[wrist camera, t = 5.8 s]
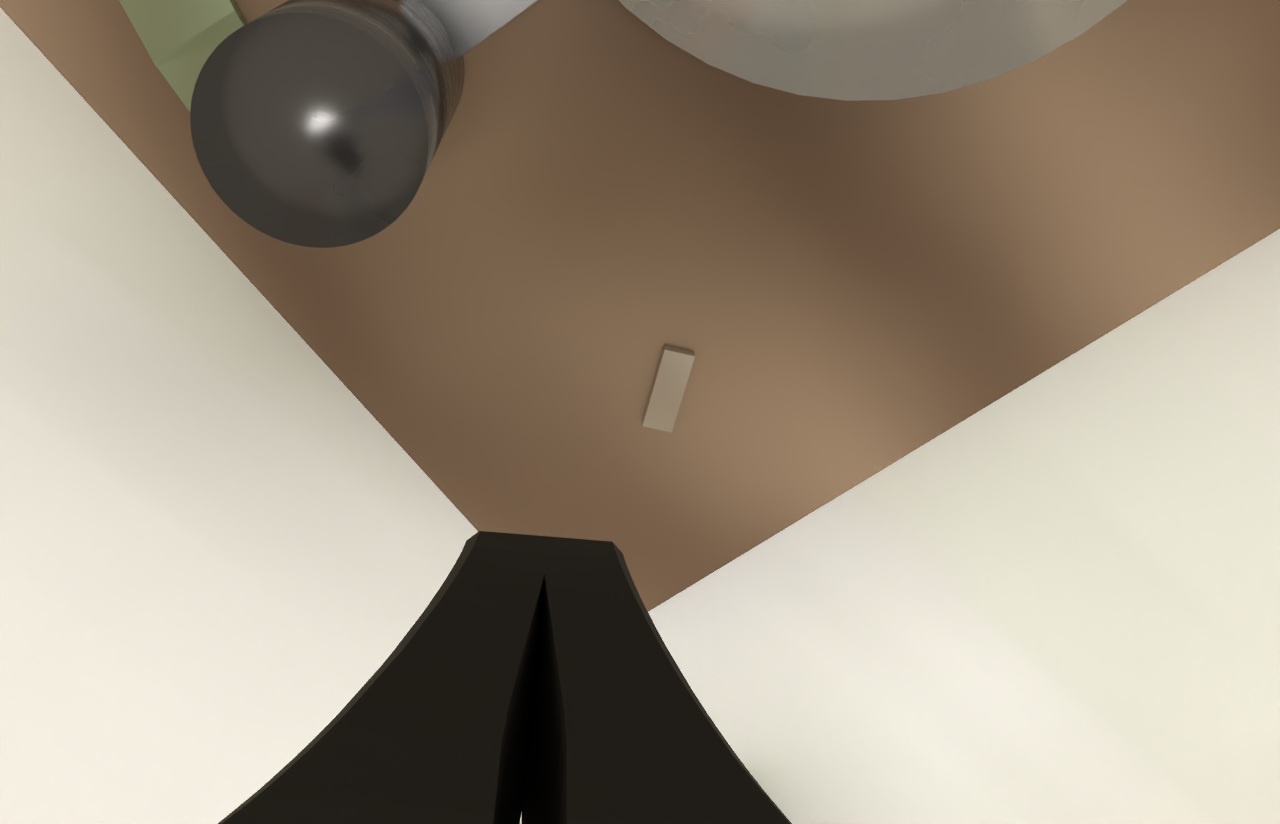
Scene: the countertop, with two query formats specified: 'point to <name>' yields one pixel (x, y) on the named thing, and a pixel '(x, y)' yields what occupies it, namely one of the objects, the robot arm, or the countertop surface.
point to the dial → (478, 6)
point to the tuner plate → (725, 252)
